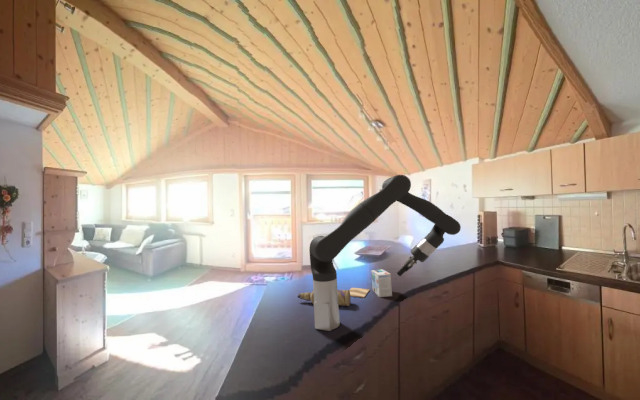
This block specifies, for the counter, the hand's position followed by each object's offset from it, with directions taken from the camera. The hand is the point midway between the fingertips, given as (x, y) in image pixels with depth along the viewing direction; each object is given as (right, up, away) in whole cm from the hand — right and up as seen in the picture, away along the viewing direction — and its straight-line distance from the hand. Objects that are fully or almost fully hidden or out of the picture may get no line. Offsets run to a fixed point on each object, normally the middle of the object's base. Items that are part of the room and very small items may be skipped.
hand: (398, 274), depth 117 cm
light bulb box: (-7, -11, +3) cm, 13 cm away
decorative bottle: (-36, -12, -6) cm, 39 cm away
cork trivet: (-19, -11, +6) cm, 23 cm away
